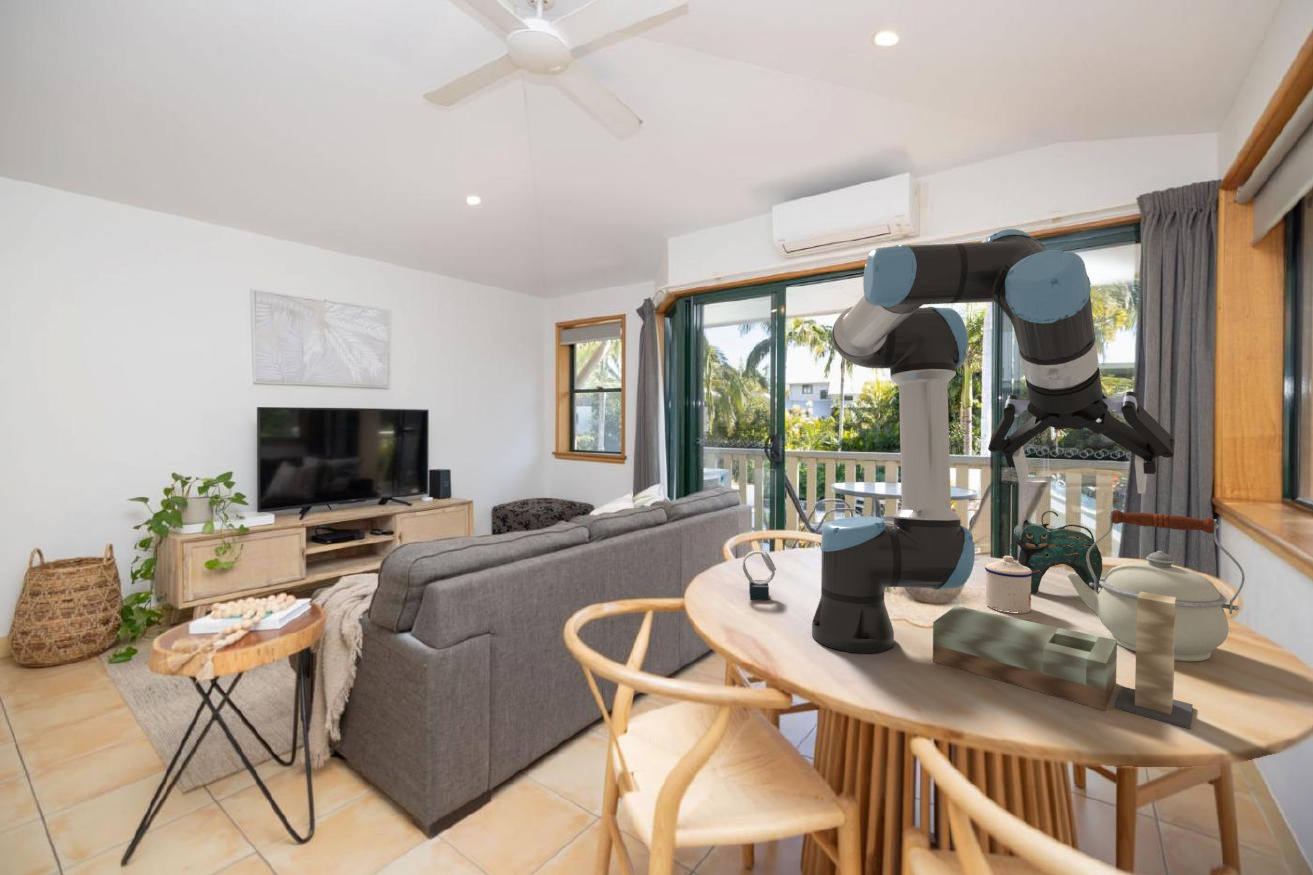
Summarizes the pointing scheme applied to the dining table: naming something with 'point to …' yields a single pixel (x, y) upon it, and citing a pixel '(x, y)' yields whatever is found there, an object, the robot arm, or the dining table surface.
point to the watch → (759, 587)
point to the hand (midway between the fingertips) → (1079, 482)
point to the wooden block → (1155, 651)
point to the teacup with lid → (1008, 586)
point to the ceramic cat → (1056, 551)
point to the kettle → (1161, 592)
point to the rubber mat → (1179, 711)
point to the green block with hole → (1028, 655)
